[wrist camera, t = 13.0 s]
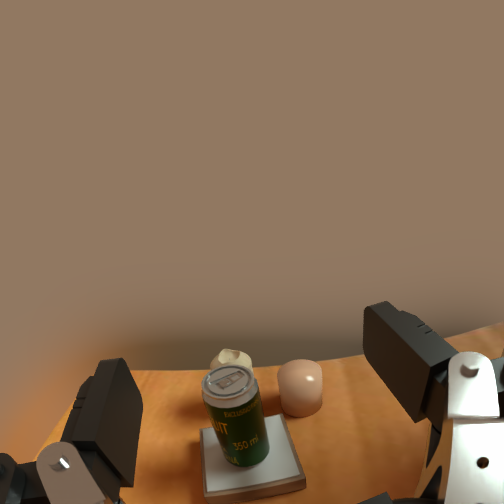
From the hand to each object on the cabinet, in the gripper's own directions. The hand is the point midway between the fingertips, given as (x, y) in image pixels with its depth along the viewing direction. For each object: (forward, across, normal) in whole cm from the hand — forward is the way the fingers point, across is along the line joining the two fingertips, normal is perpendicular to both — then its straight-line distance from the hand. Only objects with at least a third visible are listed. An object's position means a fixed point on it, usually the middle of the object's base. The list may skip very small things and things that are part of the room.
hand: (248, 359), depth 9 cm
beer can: (+14, +2, +25) cm, 29 cm away
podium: (+14, +2, +28) cm, 31 cm away
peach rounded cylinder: (+23, -7, +28) cm, 37 cm away
